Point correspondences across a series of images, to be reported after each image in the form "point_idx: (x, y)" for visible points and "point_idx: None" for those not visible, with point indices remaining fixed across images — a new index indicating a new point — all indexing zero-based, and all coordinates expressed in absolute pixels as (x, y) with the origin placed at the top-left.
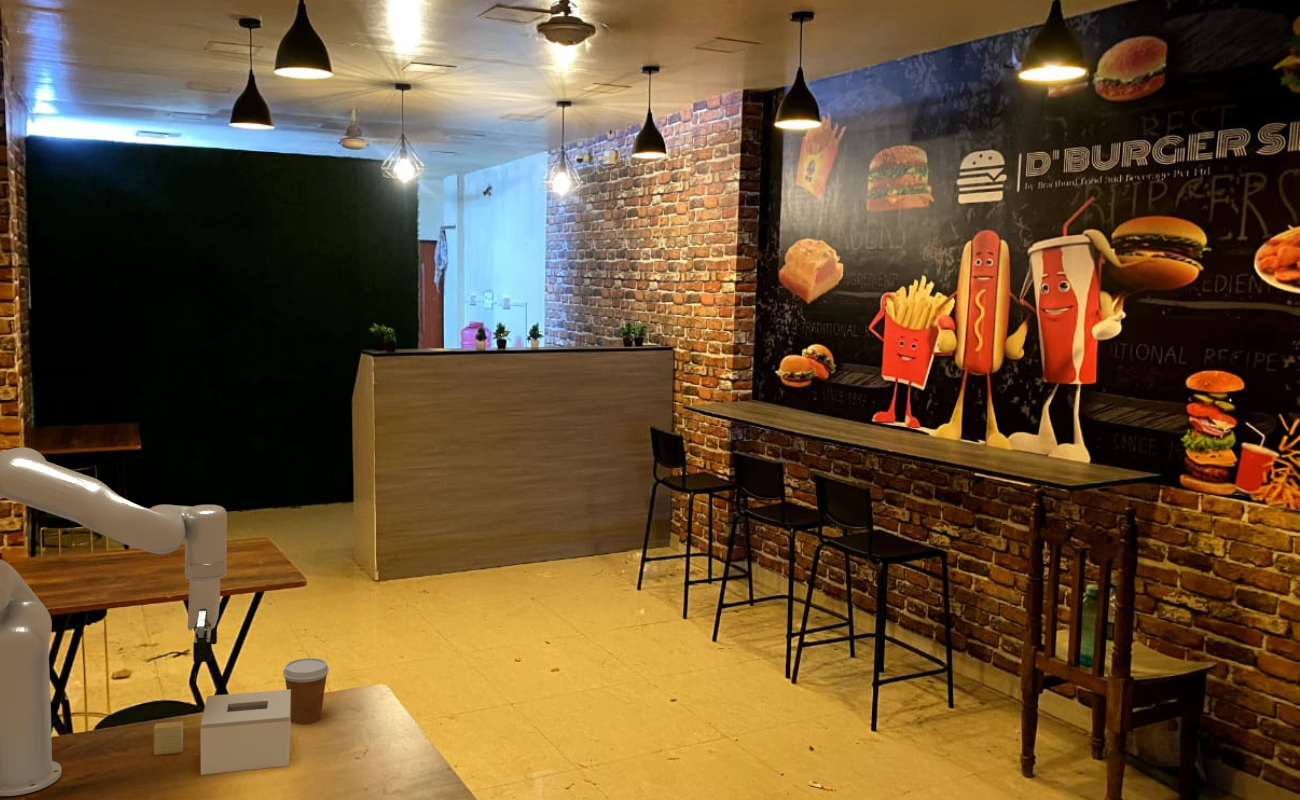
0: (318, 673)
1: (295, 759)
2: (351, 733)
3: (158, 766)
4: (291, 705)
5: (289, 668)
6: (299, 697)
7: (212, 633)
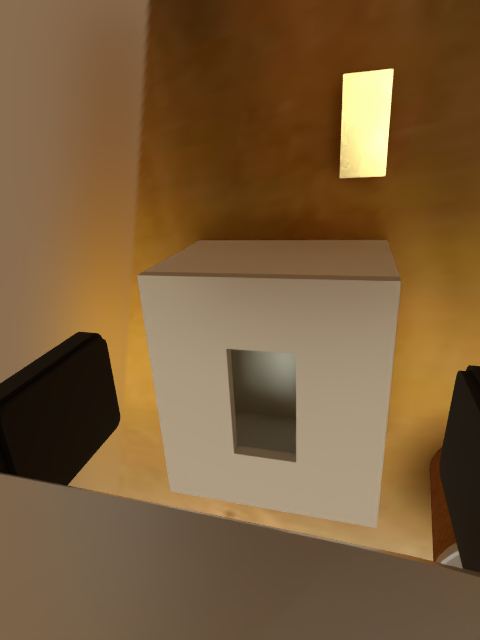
0: None
1: None
2: (343, 530)
3: (264, 121)
4: None
5: None
6: (438, 513)
7: (462, 525)
